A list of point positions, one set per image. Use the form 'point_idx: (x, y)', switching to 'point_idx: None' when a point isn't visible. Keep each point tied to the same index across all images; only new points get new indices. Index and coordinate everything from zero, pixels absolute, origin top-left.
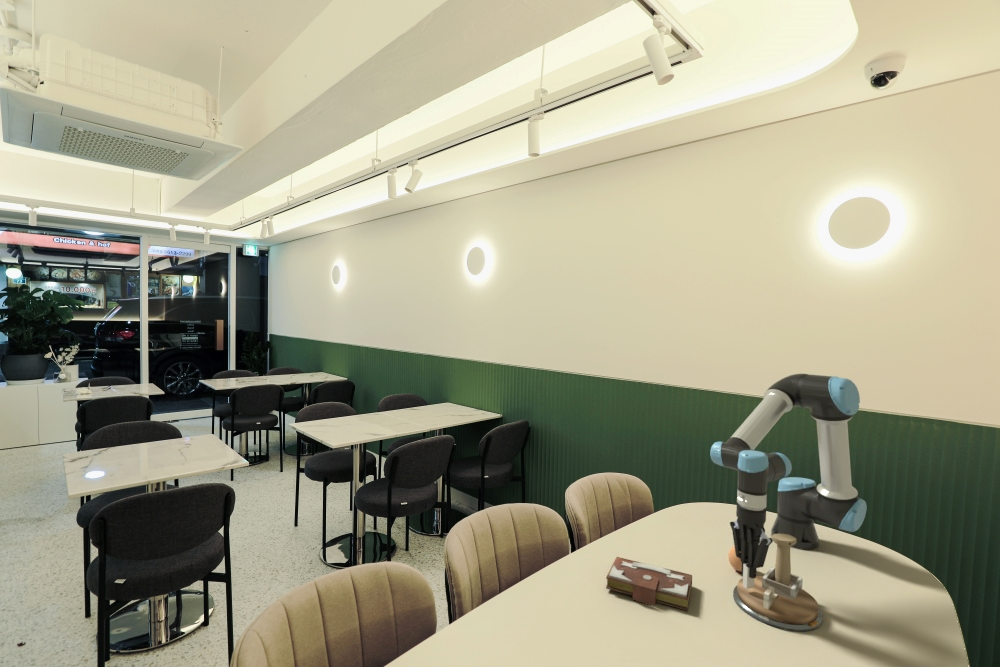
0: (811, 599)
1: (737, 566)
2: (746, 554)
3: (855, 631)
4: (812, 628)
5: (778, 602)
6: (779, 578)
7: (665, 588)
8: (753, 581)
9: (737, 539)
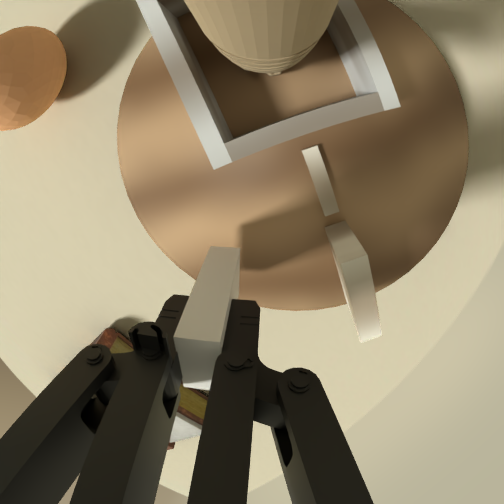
0: (399, 24)
1: (42, 113)
2: (163, 434)
3: (488, 49)
4: None
5: (357, 201)
6: (277, 70)
7: (170, 439)
8: (236, 272)
9: (58, 490)
